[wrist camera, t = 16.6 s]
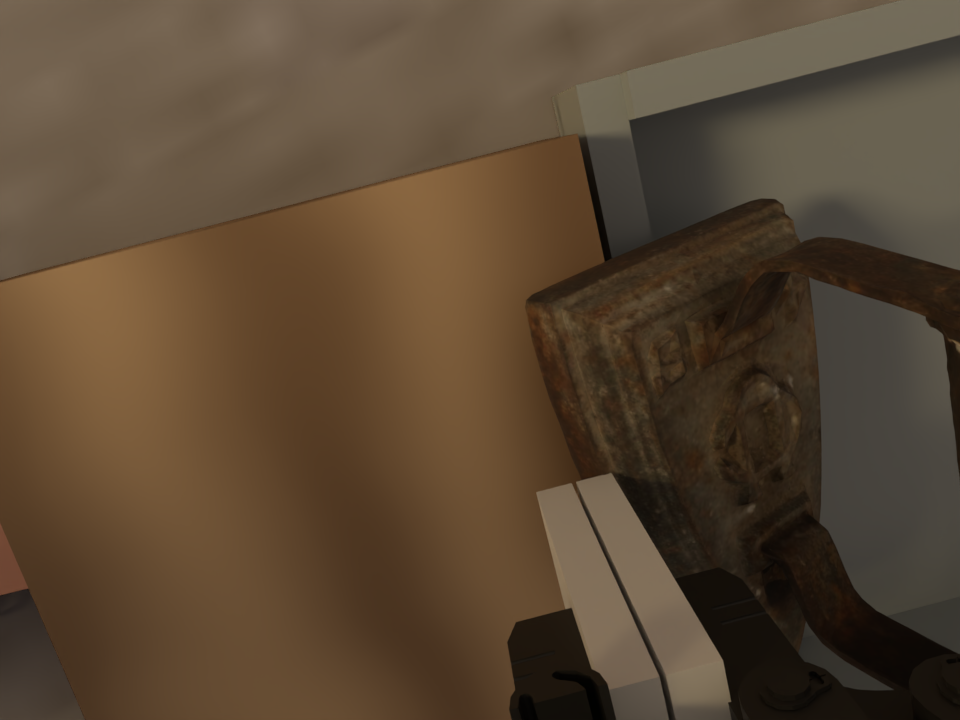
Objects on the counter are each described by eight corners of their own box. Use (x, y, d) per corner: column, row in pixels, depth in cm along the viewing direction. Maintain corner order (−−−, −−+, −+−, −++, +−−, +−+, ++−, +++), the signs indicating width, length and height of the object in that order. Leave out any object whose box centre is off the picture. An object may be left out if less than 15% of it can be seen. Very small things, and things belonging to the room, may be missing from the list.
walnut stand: (219, 774, 25) (171, 919, 20) (23, 274, 21) (-94, 306, 16) (657, 658, 25) (713, 775, 21) (542, 140, 21) (577, 133, 17)
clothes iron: (732, 166, 19) (1302, 232, 12) (733, 536, 25) (1136, 736, 17) (514, 264, 16) (1143, 440, 9) (569, 674, 21) (992, 999, 14)
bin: (678, 682, 26) (724, 774, 22) (552, 97, 21) (580, 82, 17) (1154, 555, 26) (1284, 625, 22) (1125, -51, 21) (1281, -98, 17)
